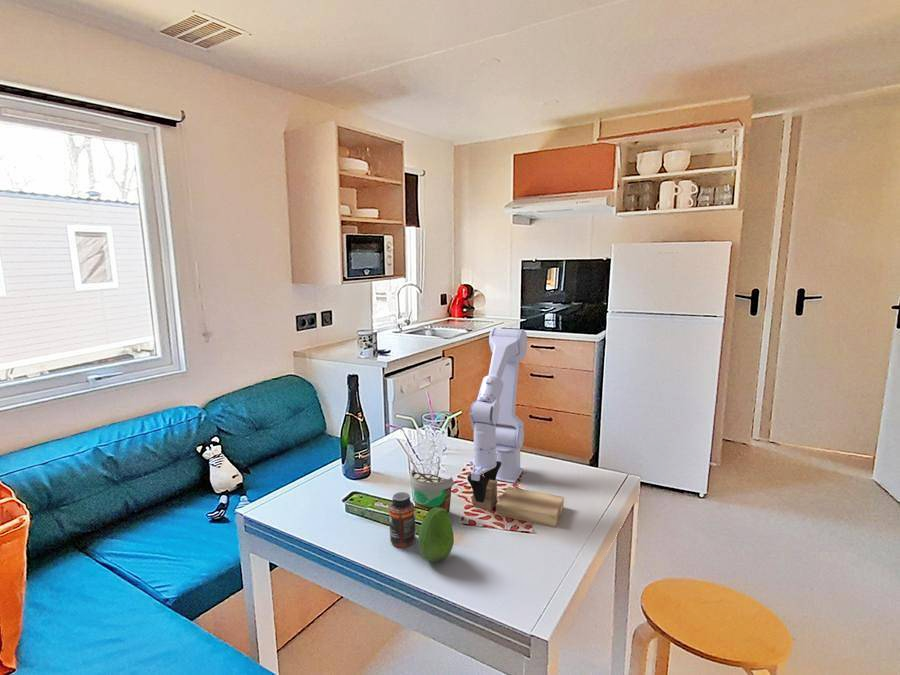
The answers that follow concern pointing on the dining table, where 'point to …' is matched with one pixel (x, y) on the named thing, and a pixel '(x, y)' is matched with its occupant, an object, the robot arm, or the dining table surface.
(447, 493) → the food container
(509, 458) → the robot arm
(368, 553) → the dining table surface
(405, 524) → the supplement bottle
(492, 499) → the walnut block
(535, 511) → the oak block
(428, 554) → the avocado
